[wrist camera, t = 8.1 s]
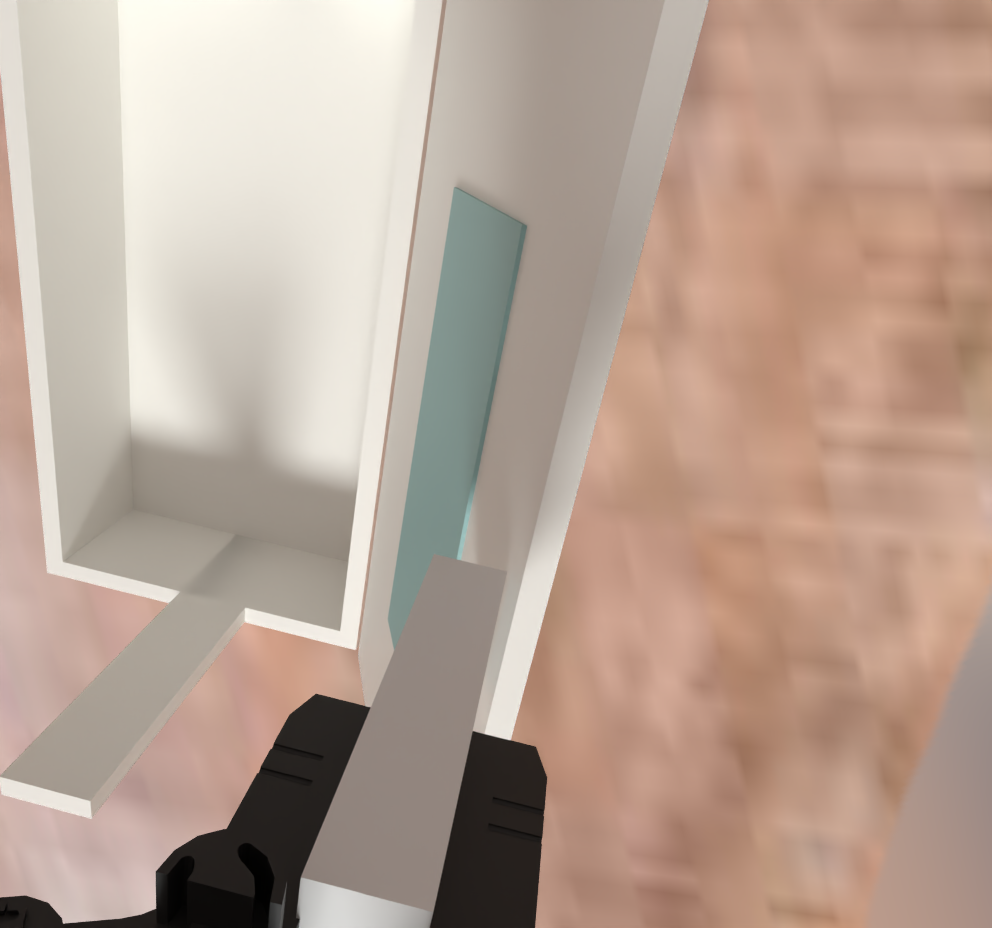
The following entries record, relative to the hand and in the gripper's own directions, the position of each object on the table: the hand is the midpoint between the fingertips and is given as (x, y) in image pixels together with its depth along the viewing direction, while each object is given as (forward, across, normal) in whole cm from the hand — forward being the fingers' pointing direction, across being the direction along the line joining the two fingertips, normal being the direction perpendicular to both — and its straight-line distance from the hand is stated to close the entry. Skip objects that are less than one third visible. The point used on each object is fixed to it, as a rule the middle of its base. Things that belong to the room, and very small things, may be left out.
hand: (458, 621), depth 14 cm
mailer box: (+19, -12, 0) cm, 23 cm away
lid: (+6, -2, 0) cm, 6 cm away
